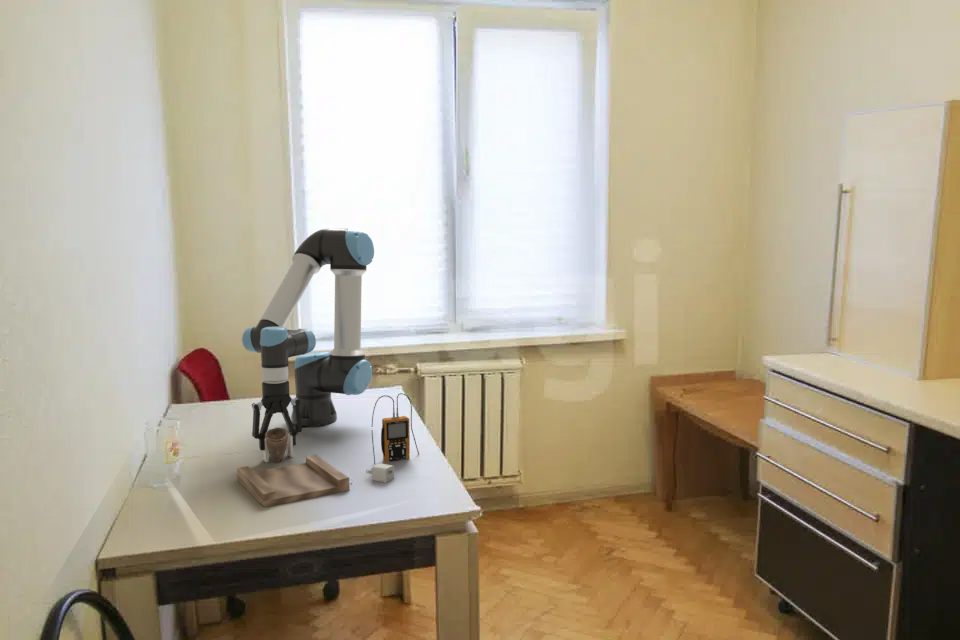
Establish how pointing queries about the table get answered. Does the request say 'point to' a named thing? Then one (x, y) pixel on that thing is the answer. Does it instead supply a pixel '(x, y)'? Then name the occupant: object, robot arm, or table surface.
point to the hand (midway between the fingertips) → (278, 458)
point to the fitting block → (293, 481)
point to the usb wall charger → (382, 472)
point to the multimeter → (395, 436)
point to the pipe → (276, 443)
